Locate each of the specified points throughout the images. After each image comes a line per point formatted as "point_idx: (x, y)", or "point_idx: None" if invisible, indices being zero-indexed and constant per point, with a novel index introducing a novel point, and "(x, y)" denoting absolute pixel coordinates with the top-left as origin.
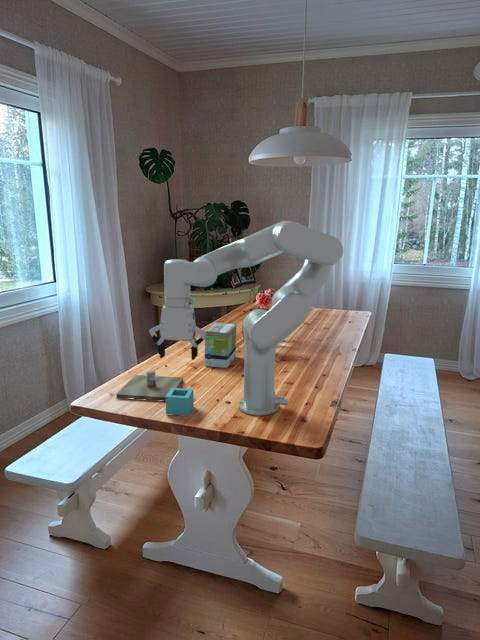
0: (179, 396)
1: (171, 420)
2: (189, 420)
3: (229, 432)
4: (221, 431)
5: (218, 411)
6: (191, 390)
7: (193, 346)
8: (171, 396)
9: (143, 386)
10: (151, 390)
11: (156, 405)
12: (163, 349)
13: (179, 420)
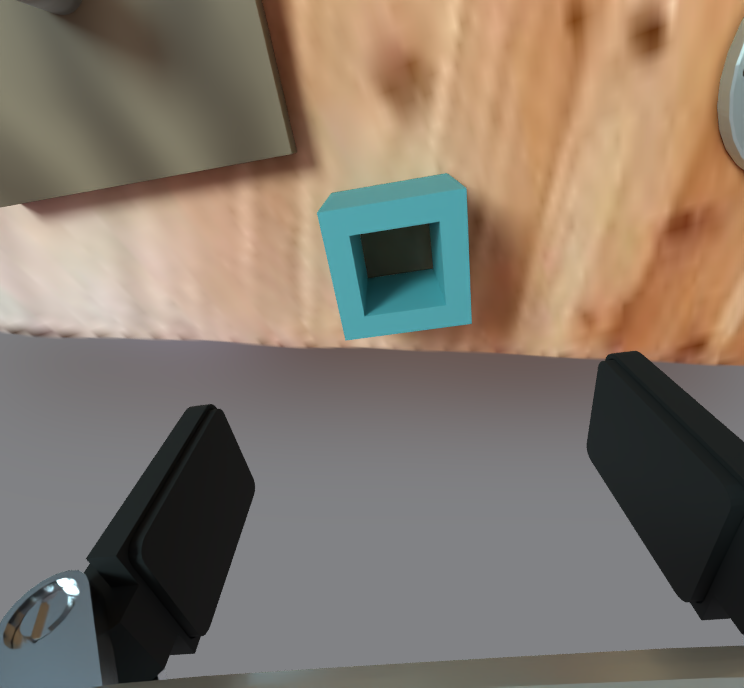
0: (417, 319)
1: None
2: None
3: None
4: None
5: (590, 188)
6: (460, 216)
7: (736, 599)
8: (374, 329)
9: (20, 18)
10: (123, 77)
11: (257, 218)
12: (208, 529)
13: None
